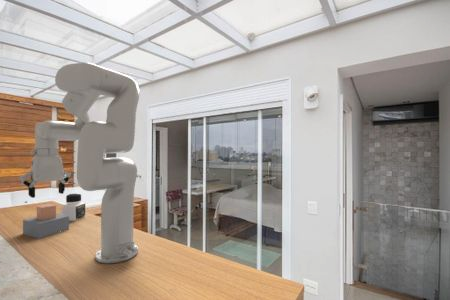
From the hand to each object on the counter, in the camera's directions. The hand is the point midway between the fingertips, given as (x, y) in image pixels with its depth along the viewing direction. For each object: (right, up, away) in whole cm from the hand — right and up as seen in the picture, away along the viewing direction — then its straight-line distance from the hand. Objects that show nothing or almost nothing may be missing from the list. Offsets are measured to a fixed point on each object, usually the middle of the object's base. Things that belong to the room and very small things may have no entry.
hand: (47, 195), depth 94 cm
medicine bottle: (-1, -15, +18) cm, 23 cm away
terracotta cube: (-1, -9, 0) cm, 9 cm away
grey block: (-1, -15, +1) cm, 15 cm away
